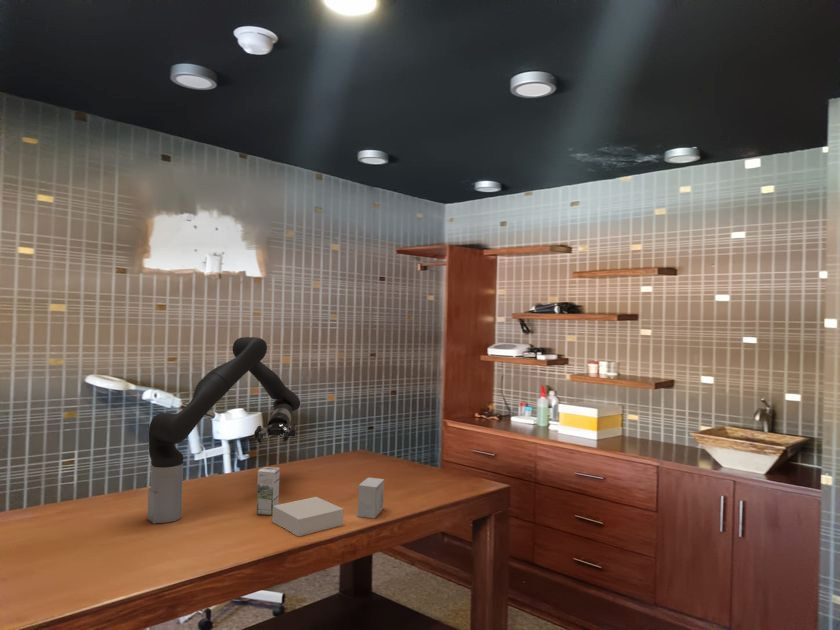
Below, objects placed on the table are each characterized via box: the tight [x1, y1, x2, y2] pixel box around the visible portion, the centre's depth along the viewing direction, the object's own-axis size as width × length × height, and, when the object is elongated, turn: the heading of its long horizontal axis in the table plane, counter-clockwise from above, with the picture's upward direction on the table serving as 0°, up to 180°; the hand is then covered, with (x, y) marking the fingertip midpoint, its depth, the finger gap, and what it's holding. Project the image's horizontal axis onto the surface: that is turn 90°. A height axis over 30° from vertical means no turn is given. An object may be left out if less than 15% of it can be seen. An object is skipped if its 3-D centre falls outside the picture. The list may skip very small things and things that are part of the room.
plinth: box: [271, 496, 344, 537], centre depth 180 cm, size 16×16×5 cm
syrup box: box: [256, 466, 281, 516], centre depth 189 cm, size 6×6×14 cm
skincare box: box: [356, 477, 385, 519], centre depth 192 cm, size 10×6×10 cm, turn 168°
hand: (272, 440), depth 199 cm, fingers open, 8 cm apart
